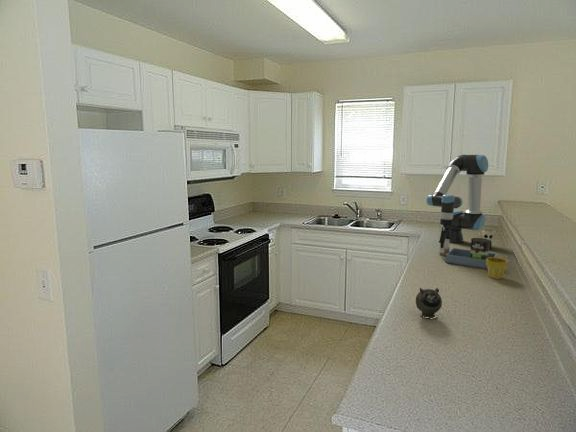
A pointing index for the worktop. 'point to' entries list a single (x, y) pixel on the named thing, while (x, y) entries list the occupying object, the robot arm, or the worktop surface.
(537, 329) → the worktop surface
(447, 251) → the brown wooden cube
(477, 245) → the coffee can
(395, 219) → the worktop surface
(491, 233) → the character mug
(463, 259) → the tote
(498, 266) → the plant pot
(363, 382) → the worktop surface
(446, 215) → the robot arm
